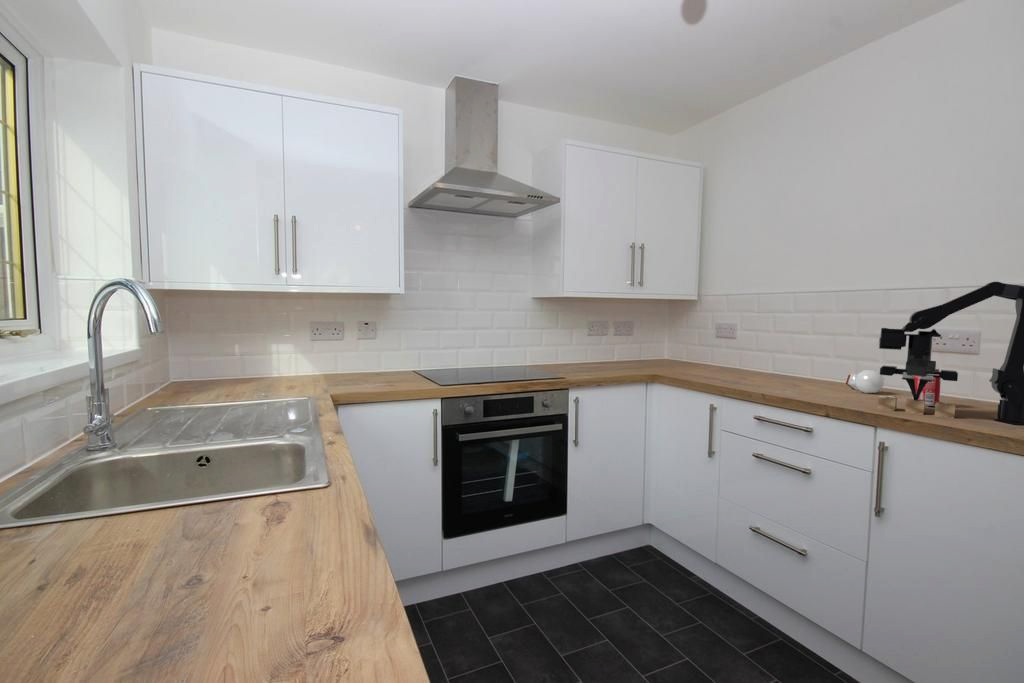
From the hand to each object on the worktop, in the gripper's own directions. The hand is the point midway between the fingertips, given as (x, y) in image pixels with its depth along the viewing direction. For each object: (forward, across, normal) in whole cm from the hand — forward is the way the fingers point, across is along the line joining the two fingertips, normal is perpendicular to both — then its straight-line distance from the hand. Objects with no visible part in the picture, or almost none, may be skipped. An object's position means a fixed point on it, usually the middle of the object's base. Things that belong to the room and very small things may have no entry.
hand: (915, 400), depth 156 cm
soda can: (+4, +2, +19) cm, 20 cm away
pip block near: (+4, +7, 0) cm, 8 cm away
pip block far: (+4, -7, 0) cm, 8 cm away
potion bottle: (+4, -18, +41) cm, 45 cm away
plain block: (+4, 0, 0) cm, 4 cm away
